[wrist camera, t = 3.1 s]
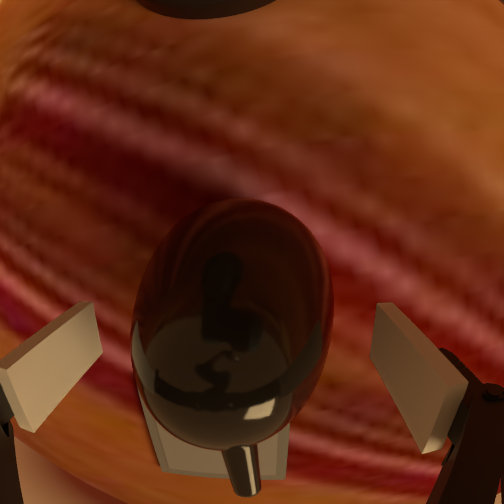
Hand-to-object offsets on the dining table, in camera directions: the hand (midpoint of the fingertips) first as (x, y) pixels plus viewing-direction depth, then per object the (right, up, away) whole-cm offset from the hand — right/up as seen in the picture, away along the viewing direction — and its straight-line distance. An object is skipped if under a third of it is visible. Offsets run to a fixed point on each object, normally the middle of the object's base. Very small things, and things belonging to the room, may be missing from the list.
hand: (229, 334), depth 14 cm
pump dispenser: (+1, +2, +9) cm, 9 cm away
